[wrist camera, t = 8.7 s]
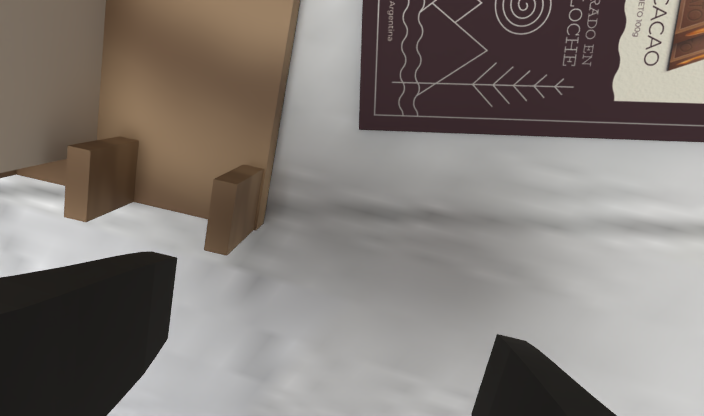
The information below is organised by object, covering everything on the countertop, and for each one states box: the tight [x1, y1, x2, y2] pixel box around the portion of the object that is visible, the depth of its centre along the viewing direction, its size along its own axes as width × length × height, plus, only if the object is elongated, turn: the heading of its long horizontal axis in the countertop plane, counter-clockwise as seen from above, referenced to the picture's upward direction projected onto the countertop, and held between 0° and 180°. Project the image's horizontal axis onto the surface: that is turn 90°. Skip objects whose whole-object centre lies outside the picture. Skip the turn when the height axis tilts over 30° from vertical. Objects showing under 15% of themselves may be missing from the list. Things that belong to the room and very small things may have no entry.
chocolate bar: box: [359, 0, 704, 142], centre depth 17 cm, size 9×1×18 cm
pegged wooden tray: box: [0, 0, 300, 256], centre depth 17 cm, size 13×16×4 cm
